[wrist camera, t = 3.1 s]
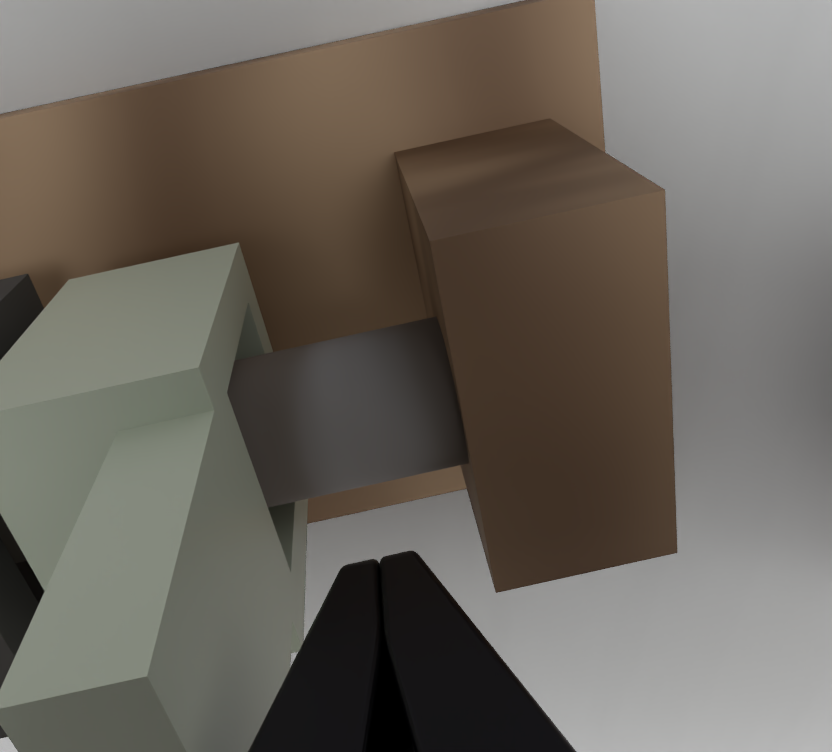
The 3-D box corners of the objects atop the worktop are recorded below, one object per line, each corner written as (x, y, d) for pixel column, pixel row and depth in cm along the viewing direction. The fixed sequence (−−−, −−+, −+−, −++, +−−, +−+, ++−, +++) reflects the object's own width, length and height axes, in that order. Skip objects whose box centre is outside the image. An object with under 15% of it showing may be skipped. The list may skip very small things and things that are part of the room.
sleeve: (238, 242, 13) (117, 618, 5) (308, 466, 15) (294, 958, 8) (68, 279, 13) (-296, 710, 5) (163, 498, 15) (2, 1023, 8)
